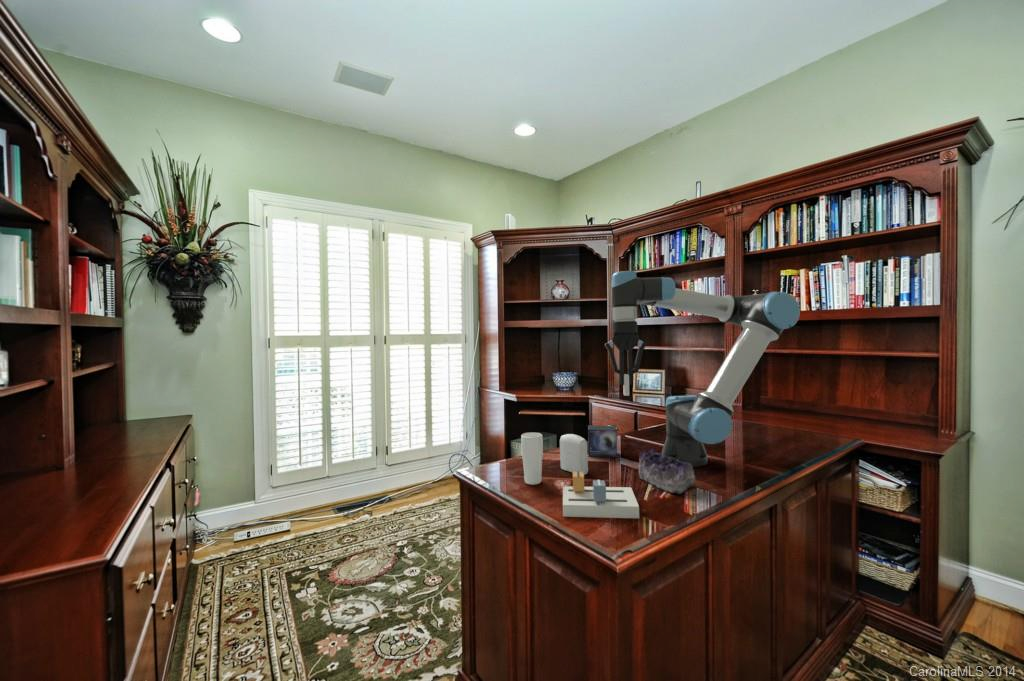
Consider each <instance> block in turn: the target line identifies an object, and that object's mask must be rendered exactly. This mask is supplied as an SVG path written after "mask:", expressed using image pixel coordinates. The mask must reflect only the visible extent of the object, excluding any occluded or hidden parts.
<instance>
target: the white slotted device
mask: <svg viewBox="0 0 1024 681" xmlns="http://www.w3.org/2000/svg"><path fill="white" fill-rule="evenodd" d="M559 458H560V463H559V464H560V469H561V470H563V471H565V472H566V471H567V472H570V473H573V472H577V471H579V472H584V476H585V475H587V474H588V472H589V462H588V461H589V460H588V458H589V455H588V441H587V440H586V439H585V438H584V437H582V436H580V435H578V434H574V433H566V434H563V435H561V436H560V439H559Z"/></svg>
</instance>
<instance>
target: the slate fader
mask: <svg viewBox="0 0 1024 681" xmlns="http://www.w3.org/2000/svg"><path fill="white" fill-rule="evenodd" d="M592 487H593V497H594V501H603V502H606V487H607V486H606V481H605V480H601V479H597V480H596V479H594V480H592Z"/></svg>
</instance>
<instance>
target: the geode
mask: <svg viewBox="0 0 1024 681" xmlns="http://www.w3.org/2000/svg"><path fill="white" fill-rule="evenodd" d="M638 460H639V462H638V465H637V468H638V477H639V479H640V480H643V481H645V482H646V483H649V484H650V485H652V486H653V487H656V488H658V489H661V490H663V491H665V492H668V493H671V494H677V495H682V494H683V493H684V492H686V491H687V490H689V489H690V488H693V487H694V486H695V485H696V474H695V472H694V467H693V466H692V465H691V464H690V463H682V462H681V461H679V460H673V459H671V458H668V457H662V453H661V452H660V453H659V452H657V451H656V449H655V448H654V447H653V448H651V449H650V450H647V449H644V450H643V452H639V458H638Z"/></svg>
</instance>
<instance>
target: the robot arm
mask: <svg viewBox="0 0 1024 681" xmlns="http://www.w3.org/2000/svg"><path fill="white" fill-rule="evenodd" d="M611 300H612V301H611V303H612V320H613V322H612V336H611V337H610V338H611V339H610V340H609V341H608V342H606V343H604V347H605V348H606V349H607V350H608V354H609V358H610V362H611V365H612V366H611V367H612V369H613V372H614V373H616V374H617V375H619V384H620V385H622V388H623V389H622V390H623V393H622V394H623V396H625V397H626V396H630V386H631V385H633V383H634V381H633V377H634V376H633V375H634V374H637V373H639V371H640V366H641V361H642V357H643V353H644V350H645V348H646V346H647V344H648V343H647V342H645V341H643V340H641V339H640V337H639V334H638V322H637V321H636V320H637V319H638V305H645V306H648V307H649V306H650V307H655V308H656V307H657V308H660V309H661V308H662V309H667V310H674V311H679V312H684V313H690V314H694V315H700V316H706V317H711V318H716V319H718V320H719V322H722V323H728V324H733V325H736V326H739V327H742V331H741V332H740V334H739V335H738V337H737V339H736V340H735V342H734V344H733V345H732V347H731V349H730V350H729V352H728V353H727V355H726V357H725V359H724V360H723V362H722V364H721V366H720V367H719V369H718V370H717V372H716V374H715V375H714V377H713V379H711V380H712V381H711V382H710V383H709V385H708V387H707V389H706V390H705V391H701V392H698V394H697V395H671V396H667V397H666V400H665V406H664V407H665V422H666V423H665V427H666V429H665V430H666V431H665V432H666V438H665V441H664V444H663V447H662V450H661V456H662V457H668V458H671V459H673V460H679V461H681V462H682V463H690V464H691V465H692V466H693V468H694V467H695V468H697V467H703V466H705V465H707V464H708V459H709V458H708V454H707V450H706V447H705V445H704V444H707V445H715V444H720V443H721V442H724V441H725V440H726V439H727V438H728V437H729V436H730V434H731V432H732V429H733V424H732V421H733V420H732V418H731V417H732V416H733V414H734V413H735V412H734V408H733V403H734V402H735V400H736V399H737V397H738V396H739V394H740V392H741V391H742V389H743V387H744V385H745V384H746V382H747V381H748V379H749V378H750V376H751V374H752V373H753V371H754V369H755V367H756V366H757V364H758V363H759V361H760V359H761V357H762V356H763V355H764V352H765V351H766V350H767V347H768V346H769V344H770V343H771V342H773V341H777V340H778V339H779V338H780V336H781V335H782V333H783V331H784V330H787V329H790V328H792V327H794V326H795V325H796V324H797V322H798V321H799V319H800V314H801V310H800V309H801V308H800V307H799V302H798V300H796V298H795V297H794V296H793V295H792V294H790V293H788V292H786V291H770V292H767V293H765V292H764V293H758V294H757V293H756V294H748V295H731V294H726V295H724V296H721V295H715V294H709V293H705V292H700V291H699V292H697V291H694V290H693V291H692V290H687V289H682V288H677V287H676V282H675V280H674V279H673V278H672V277H665V276H664V277H663V276H661V277H659V276H658V277H637V272H636V271H635V270H622V271H616V272H614V273H613V274H612V277H611ZM614 346H615V347H616V348H617V350H618V364H617V360H616V357H615V354H614V351H613V348H614ZM636 346H637V347H638V349H637V351H636V357H635V361H634V365H633V350H634V349H635V347H636ZM625 350H626V356H627V357H626V358H627V359H626V360H627V363H626V364H627V374H626V373H625Z"/></svg>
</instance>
